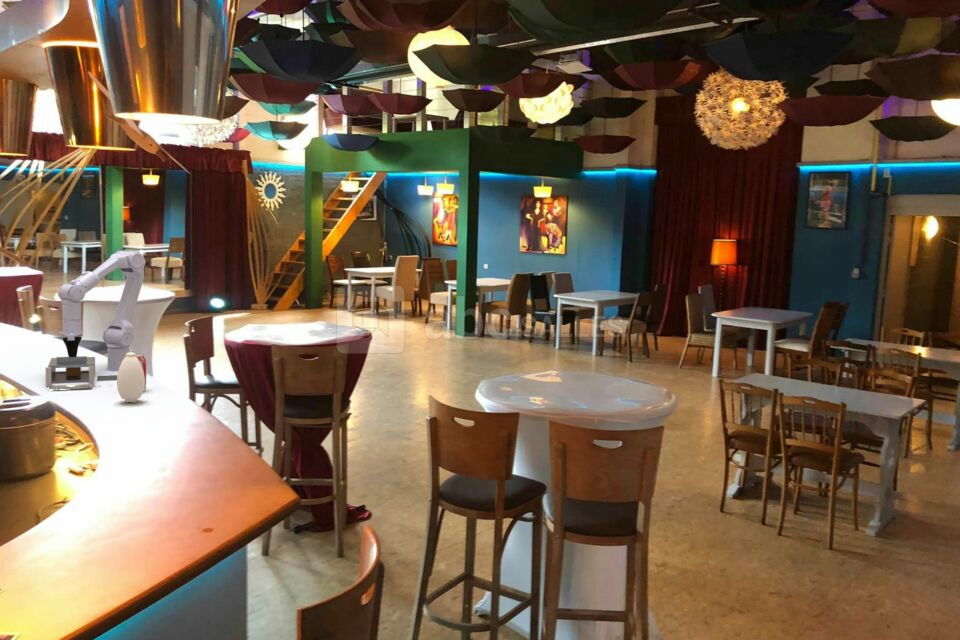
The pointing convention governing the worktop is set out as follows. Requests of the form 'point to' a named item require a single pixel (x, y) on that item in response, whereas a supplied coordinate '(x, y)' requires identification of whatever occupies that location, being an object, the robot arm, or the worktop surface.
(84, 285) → the robot arm
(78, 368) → the module
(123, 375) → the egg-shaped bottle
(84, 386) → the rod
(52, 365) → the lid
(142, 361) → the soda can
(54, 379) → the case
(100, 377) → the mat
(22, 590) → the worktop surface
